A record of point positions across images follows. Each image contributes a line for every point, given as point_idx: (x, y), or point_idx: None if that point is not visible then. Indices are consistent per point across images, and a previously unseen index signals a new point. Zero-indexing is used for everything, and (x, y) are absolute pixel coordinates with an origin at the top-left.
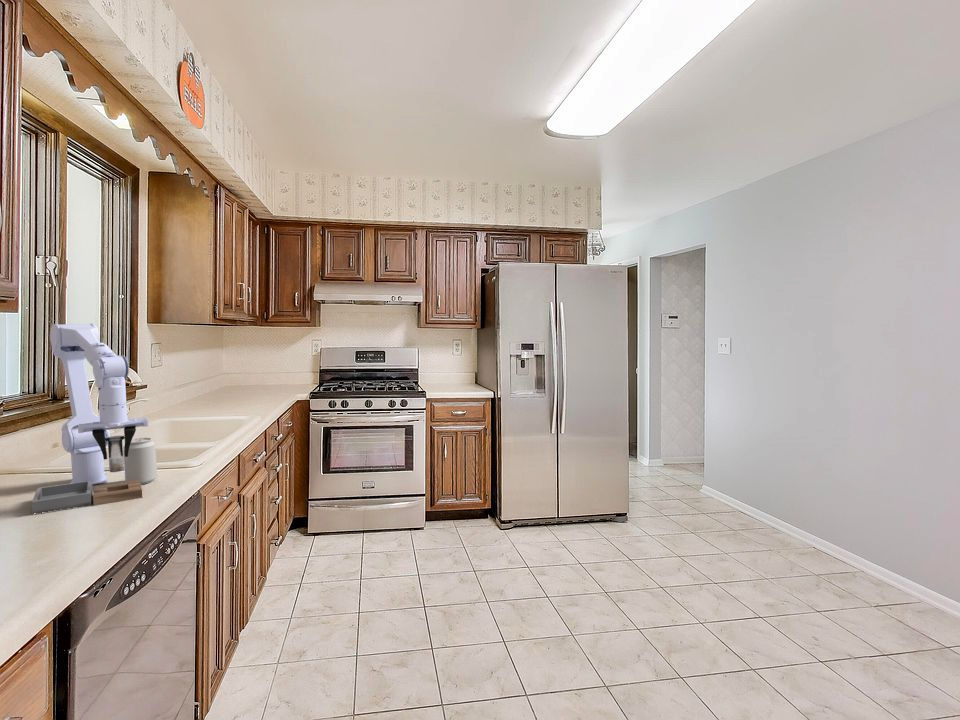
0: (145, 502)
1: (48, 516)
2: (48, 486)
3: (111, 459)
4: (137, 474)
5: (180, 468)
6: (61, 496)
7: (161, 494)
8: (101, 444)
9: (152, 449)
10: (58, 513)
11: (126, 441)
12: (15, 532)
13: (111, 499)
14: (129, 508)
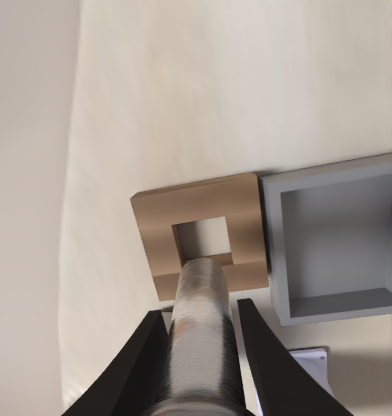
0: (116, 137)
1: (357, 114)
2: (388, 313)
3: (217, 296)
4: (168, 331)
5: None
6: (340, 269)
7: (93, 200)
8: (286, 373)
9: None
10: (333, 133)
11: (113, 391)
12: None
13: (209, 181)
14: (147, 91)
